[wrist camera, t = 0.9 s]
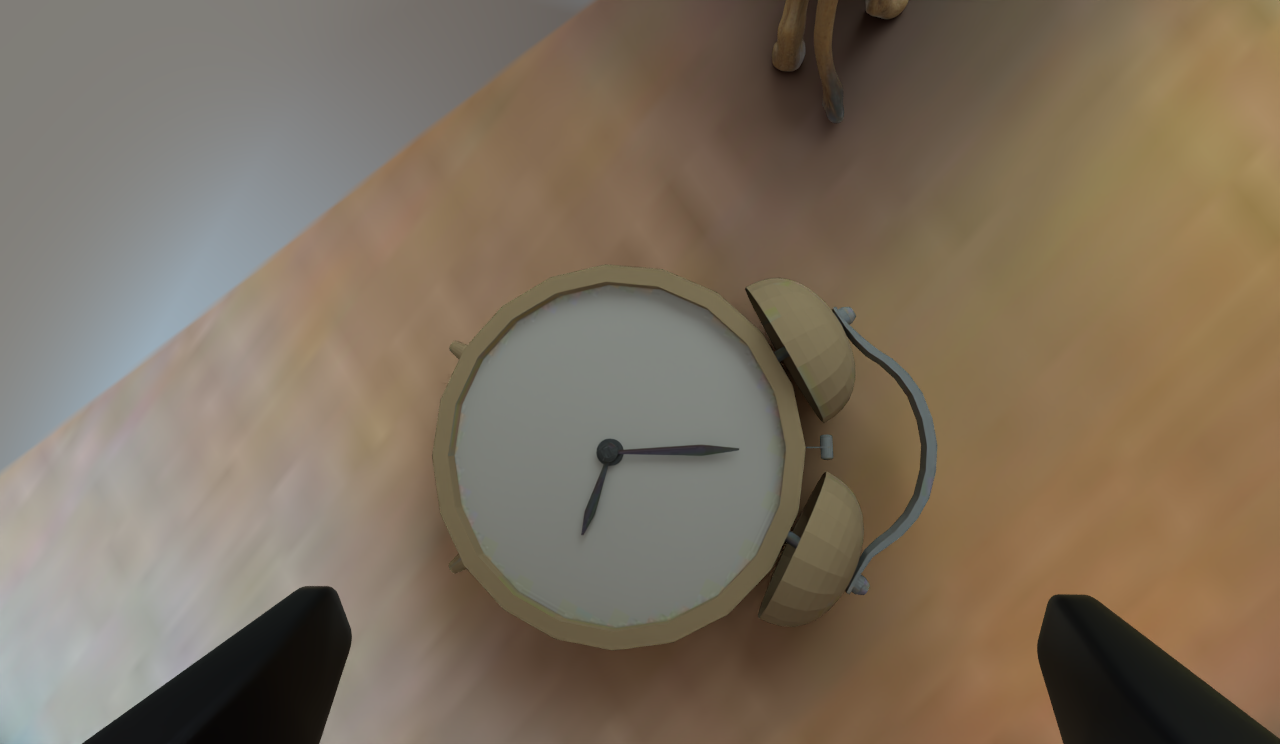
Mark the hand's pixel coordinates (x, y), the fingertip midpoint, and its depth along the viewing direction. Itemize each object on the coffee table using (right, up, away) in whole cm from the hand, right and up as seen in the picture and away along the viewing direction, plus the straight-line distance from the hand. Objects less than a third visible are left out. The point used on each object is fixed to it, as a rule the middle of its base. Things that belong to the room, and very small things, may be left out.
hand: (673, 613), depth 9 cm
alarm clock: (+1, 0, +15) cm, 15 cm away
